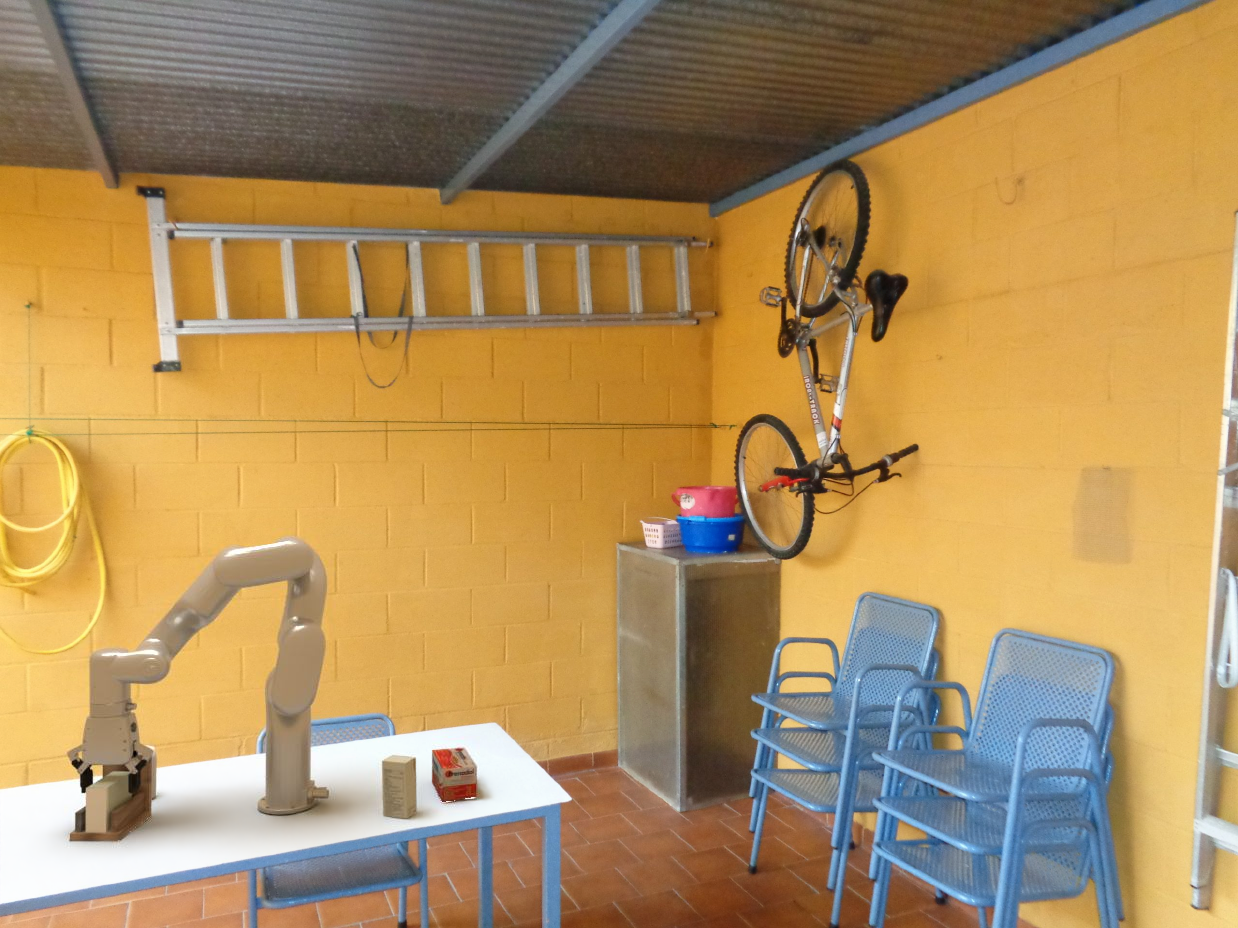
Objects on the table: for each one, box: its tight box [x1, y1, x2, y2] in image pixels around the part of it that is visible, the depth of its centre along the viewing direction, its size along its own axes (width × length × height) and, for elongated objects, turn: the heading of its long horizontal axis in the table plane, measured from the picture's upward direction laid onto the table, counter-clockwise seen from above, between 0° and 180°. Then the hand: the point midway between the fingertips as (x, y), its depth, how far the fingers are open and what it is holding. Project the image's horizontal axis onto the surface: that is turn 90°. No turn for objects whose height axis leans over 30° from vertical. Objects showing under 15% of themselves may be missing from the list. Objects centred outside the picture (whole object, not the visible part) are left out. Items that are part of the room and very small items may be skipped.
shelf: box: [69, 754, 152, 842], centre depth 193 cm, size 10×13×14 cm
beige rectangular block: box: [85, 771, 132, 833], centre depth 192 cm, size 4×10×9 cm, turn 0°
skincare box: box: [381, 754, 418, 819], centre depth 202 cm, size 6×4×12 cm
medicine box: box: [431, 747, 478, 803], centre depth 217 cm, size 15×8×8 cm, turn 21°
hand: (110, 790), depth 192 cm, fingers open, 9 cm apart
